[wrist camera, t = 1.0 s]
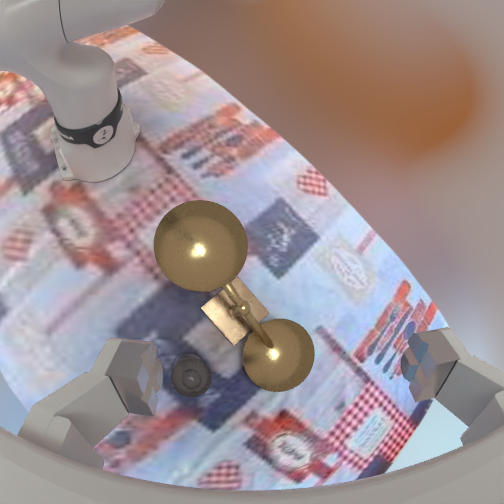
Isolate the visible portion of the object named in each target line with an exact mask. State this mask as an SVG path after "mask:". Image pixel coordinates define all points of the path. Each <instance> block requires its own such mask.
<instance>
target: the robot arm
mask: <svg viewBox="0 0 504 504" xmlns="http://www.w3.org/2000/svg"><path fill="white" fill-rule="evenodd" d="M164 1H165V0H0V71H8V72H12V73H15V74H18V75H21V76H23V77H25V78H27V79H28V80H30V81H31V82H33V83H34V84H35V85H37V86H38V87H39V88H40V89H41V90H42V92H43V93H44V95H45V97H46V99H47V100H48V102H49V104H50V106H51V109H52V111H53V113H54V121H55V124H54V125H53V127H52V128H51V133H50V138H51V141H52V143H53V145H54V149H55V154H56V158H57V162H58V166H59V170H60V174H61V177H62V179H63V180H73V179H79V180H83V181H87V182H99V181H103V180H106V179H109V178H111V177H113V176H115V175H116V174H118V173H119V172H121V171H122V170H123V169H124V168H125V167H126V166H127V165H128V163H129V162H130V160H131V159H132V156H133V154H134V150H135V141H136V138H137V137H138V135H139V133H140V130H141V128H140V125H139V124H138V123H136V122H135V121H134V120H132V116H131V112H130V108H129V107H126V106H125V105H124V104H123V101H122V96H121V94H120V91H119V89H118V88H117V83H116V75H115V67H114V62H113V60H112V58H111V56H110V55H109V54H108V53H106V52H105V51H104V50H102V49H101V48H98V47H95V46H90V45H82V44H78V43H75V42H73V41H74V40H77V39H81V38H84V37H87V36H90V35H94V34H97V33H101V32H105V31H109V30H113V29H117V28H120V27H123V26H126V25H128V24H131V23H133V22H136V21H139V20H142V19H144V18H147V17H150V16H153V15H154V14H155V13H156V12H157V11H158V10H159V9H160V7H161V6H162V4H163V3H164ZM66 168H67V169H66ZM64 169H66V170H64ZM408 345H409V348H408V349H407V350H406V351H405V352H404V353H403V355H402V358H401V371H402V374H403V377H404V378H405V379H406V380H408V381H409V382H410V385H409V389H410V392H411V394H412V396H413V398H414V400H415V402H418V401H423V400H427V399H431V398H435V397H436V398H435V399H436V400H437V401H438V402H440V403H441V404H442V405H443V406H444V407H446V408H447V409H448V410H449V411H451V412H452V413H453V414H454V415H455V416H457V417H458V418H459V419H460V420H461V421H462V422H464V423H465V424H466V425H467V426H468V427H469V428H468V429H467V430H466V431H465V432H464V433H463V434H462V436H461V438H460V439H461V441H462V443H463V446H462V447H459V448H457V449H455V450H452V451H450V452H448V453H445V454H443V455H440V456H438V457H435V458H432V459H430V460H427V461H424V462H421V463H418V464H415V465H413V466H409V467H406V468H403V469H400V470H396V471H392V472H389V473H385V474H381V475H377V476H373V477H368V478H364V479H359V480H354V481H349V482H344V483H338V484H332V485H325V486H317V487H309V488H299V489H286V490H265V491H236V490H215V489H202V488H192V487H184V486H176V485H169V484H163V483H157V482H152V481H147V480H142V479H137V478H133V477H128V476H124V475H120V474H116V473H113V472H109V471H105V470H102V468H103V465H104V460H103V458H102V457H101V456H100V455H99V454H98V452H97V451H96V450H95V449H94V448H93V447H95V446H96V445H97V444H98V443H99V442H100V441H101V440H102V439H103V438H104V437H105V436H106V435H107V434H108V433H109V432H111V431H112V430H113V429H114V428H115V427H116V426H117V425H118V424H119V423H120V422H121V421H122V420H123V419H124V418H125V417H126V416H127V415H128V414H129V413H134V414H141V415H149V416H154V412H155V408H156V405H157V401H158V399H157V396H156V394H155V393H156V392H158V391H159V390H160V389H161V387H162V383H163V367H162V363H161V361H160V360H159V359H158V358H157V357H156V356H157V353H158V350H157V347H156V344H155V343H153V342H147V341H138V340H129V339H119V338H112V337H111V338H109V339H108V340H107V341H106V343H105V345H104V347H103V348H102V350H101V352H100V354H99V356H98V358H97V360H96V361H95V363H94V365H93V367H92V369H91V371H90V372H85V373H83V374H82V375H80V376H79V377H77V378H75V379H74V380H72V381H71V382H69V383H68V384H66V385H64V386H63V387H61V388H60V389H58V390H56V391H55V392H53V393H52V394H50V395H48V396H47V397H45V398H44V399H42V400H41V401H39V402H37V403H36V404H34V405H33V406H32V408H31V410H30V412H29V414H28V416H27V418H26V420H25V421H24V423H23V425H22V427H21V429H20V431H19V434H18V435H15V434H13V433H11V432H9V431H7V430H6V429H4V428H2V427H0V504H504V372H503V371H501V370H499V369H497V368H495V367H494V366H492V365H490V364H488V363H486V362H485V361H483V360H481V359H479V358H477V357H476V356H471V355H470V354H469V353H468V351H467V350H466V348H465V347H464V346H463V344H462V343H461V341H460V340H459V339H458V337H457V336H456V335H455V333H454V332H453V331H452V329H450V328H448V327H446V328H441V329H436V330H431V331H425V332H419V333H413V334H412V335H411V336H410V338H409V340H408Z"/></svg>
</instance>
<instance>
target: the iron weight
mask: <svg viewBox="0 0 504 504" xmlns="http://www.w3.org/2000/svg"><path fill="white" fill-rule="evenodd" d="M171 380H172V384H173V386H174V388H175V389H176V390H177V391H178V392H179V393H180V394H182V395H184V396H187V397H196V396H200V395H202V394H203V393H205V392H206V391H207V389H208V388H209V386H210V383H211V374H210V371H209V369H208V368H207V367H206V365H205V364H204V363H203V361H202V360H201V359H200V357H199V356H197V355H196V354H193V353H188V352H187V353H182V354H180V355H179V356H178V357H177V358H176V359H175V361H174V363H173V369H172V374H171Z"/></svg>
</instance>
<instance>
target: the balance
mask: <svg viewBox="0 0 504 504" xmlns="http://www.w3.org/2000/svg"><path fill="white" fill-rule="evenodd" d="M247 250H248V244H247V237H246V233H245V231H244V228H243V226H242V224H241V223H240V221H239V220H238V218H237V217H236V216H235V215H234V214H233V213H232V212H231V211H229V210H228V209H227V208H225V207H223V206H221V205H219V204H217V203H214V202H210V201H203V200H196V201H189V202H186V203H183V204H180V205H178V206H176V207H175V208H173V209H172V210H171V211H169V212H168V213H167V214H166V215H165V216H164V217H163V219H162V220H161V222H160V223H159V225H158V227H157V230H156V233H155V238H154V252H155V257H156V260H157V263H158V265H159V267H160V269H161V270H162V272H163V273H164V274H165V276H166V277H167V278H168V279H169V280H171V281H172V282H173V283H174V284H176V285H178V286H179V287H182V288H184V289H187V290H190V291H196V292H206V291H212V290H216V289H218V288H221V287H222V288H223V290H221V291H220V292H219V293H218V294H217V295H216V296H214V297H213V298H212V299H211V300H210V301H209V302H207V303H206V304H205V305H204V306H203V307H201V310H202V311H203V312H204V313H205V314H206V315H207V317H208V318H209V319H210V320H211V321H212V322H213V323H214V325H215V326H216V327H217V328H218V329H219V330H220V331H221V332H222V334H223V335H224V336H225V337H226V338H227V339H228V340H229V341H230V342H231V344H232V345H235V344H236V343H237V342H238V341H239V340H240V339H242V338H243V337H244V336H245V335H246V334H247V333H248V332H249V331H250V330H251V329H252V330H253V331H252V332H251V334H250V335H249V336H248V338H247V340H246V342H245V345H244V349H243V365H244V368H245V371H246V373H247V375H248V376H249V378H250V379H251V380H252V381H253V382H254V383H255V384H256V385H258V386H259V387H261V388H263V389H265V390H268V391H273V392H282V391H287V390H290V389H292V388H294V387H296V386H298V385H299V384H300V383H302V382H303V381H304V380H305V378H306V377H307V376H308V374H309V373H310V371H311V369H312V366H313V362H314V345H313V342H312V339H311V337H310V336H309V334H308V333H307V331H306V330H305V329H304V328H303V327H302V326H300V325H299V324H297V323H296V322H293V321H291V320H287V319H274V320H270V321H267V322H264V323H262V324H261V325H260V323H259V322H260V321H261V320H262V319H263V318H264V317H265V316H266V315H268V314H269V312H268V311H267V310H266V309H265V307H264V306H263V305H262V304H261V303H260V302H259V301H258V299H257V298H256V297H255V296H254V295H253V294H252V293H251V291H250V290H249V289H248V288H247V287H246V286H245V285H244V283H243V282H242V281H241V280H240V279H239V278H238V277H237V278H236V279H234V278H235V277H236V276H237V275H238V273H239V272H240V271H241V269H242V267H243V265H244V263H245V260H246V256H247ZM233 279H234V280H233ZM232 280H233V281H232ZM231 281H232V282H231Z"/></svg>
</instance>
